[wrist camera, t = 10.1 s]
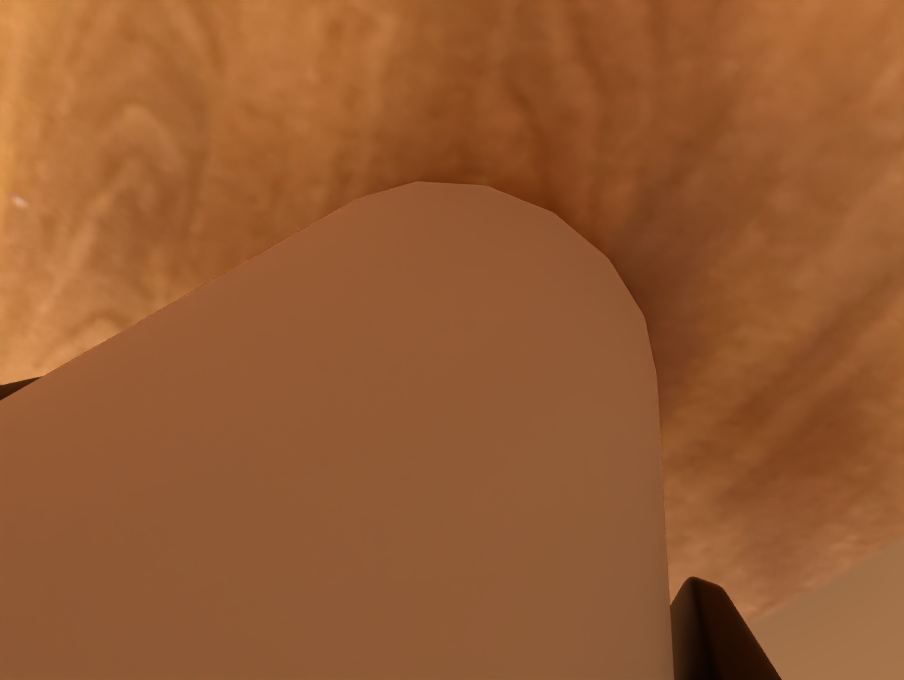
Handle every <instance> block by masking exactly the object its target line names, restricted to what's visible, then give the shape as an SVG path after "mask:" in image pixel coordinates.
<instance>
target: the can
mask: <svg viewBox="0 0 904 680" xmlns="http://www.w3.org/2000/svg"><path fill="white" fill-rule="evenodd" d="M0 680H674V670H673V652H672V634H671V616H670V598H669V580H668V563H667V545H666V527H665V509H664V491H663V473H662V456H661V438H660V420H659V402H658V384H657V375H656V370H655V365H654V360H653V356H652V351H651V346H650V341H649V336H648V332H647V327H646V322H645V317H644V315H643V313H642V312H641V310H640V309H639V307H638V305H637V304H636V302H635V300H634V299H633V297H632V296H631V294H630V292H629V291H628V289H627V287H626V286H625V284H624V283H623V281H622V279H621V278H620V276H619V274H618V273H617V271H616V270H615V268H614V266H613V265H612V263H611V262H610V260H609V258H608V257H606V256H605V255H604V254H603V253H602V252H600V251H599V250H598V249H597V248H596V247H594V246H593V245H592V244H591V243H590V242H588V241H587V240H586V239H585V238H584V237H582V236H581V235H580V234H579V233H578V232H576V231H575V230H574V229H573V228H572V227H570V226H569V225H568V224H567V223H566V222H564V221H563V220H562V219H561V218H560V217H558V216H557V215H556V214H555V213H554V212H551V211H549V210H546V209H544V208H541V207H539V206H536V205H534V204H531V203H529V202H526V201H524V200H521V199H519V198H516V197H514V196H511V195H509V194H506V193H504V192H501V191H499V190H496V189H494V188H491V187H489V186H486V185H471V184H455V183H439V182H423V181H416V182H413V183H409V184H406V185H402V186H399V187H395V188H392V189H388V190H385V191H381V192H378V193H374V194H371V195H367V196H364V197H360V198H357V199H355V200H353V201H351V202H350V203H348V204H346V205H344V206H343V207H341V208H339V209H337V210H336V211H334V212H332V213H330V214H328V215H327V216H325V217H323V218H321V219H320V220H318V221H316V222H314V223H313V224H311V225H309V226H307V227H306V228H304V229H302V230H300V231H298V232H297V233H295V234H293V235H291V236H290V237H288V238H286V239H284V240H283V241H281V242H279V243H277V244H276V245H274V246H272V247H270V248H269V249H267V250H265V251H263V252H261V253H260V254H258V255H256V256H254V257H253V258H251V259H249V260H247V261H246V262H244V263H242V264H240V265H239V266H237V267H235V268H233V269H231V270H230V271H228V272H226V273H224V274H223V275H221V276H219V277H217V278H216V279H214V280H212V281H210V282H209V283H207V284H205V285H203V286H202V287H200V288H198V289H196V290H194V291H193V292H191V293H189V294H187V295H186V296H184V297H182V298H180V299H179V300H177V301H175V302H173V303H172V304H170V305H168V306H166V307H164V308H163V309H161V310H159V311H157V312H156V313H154V314H152V315H150V316H149V317H147V318H145V319H143V320H142V321H140V322H138V323H136V324H135V325H133V326H131V327H129V328H127V329H126V330H124V331H122V332H120V333H119V334H117V335H115V336H113V337H112V338H110V339H108V340H106V341H105V342H103V343H101V344H99V345H97V346H96V347H94V348H92V349H90V350H89V351H87V352H85V353H83V354H82V355H80V356H78V357H76V358H75V359H73V360H71V361H69V362H68V363H66V364H64V365H62V366H60V367H59V368H57V369H55V370H53V371H52V372H50V373H48V374H46V375H45V376H43V377H41V378H39V379H38V380H36V381H34V382H32V383H30V384H29V385H27V386H25V387H23V388H22V389H20V390H18V391H16V392H15V393H13V394H11V395H9V396H8V397H6V398H4V399H2V400H1V401H0Z"/></svg>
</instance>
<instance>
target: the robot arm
mask: <svg viewBox="0 0 904 680" xmlns="http://www.w3.org/2000/svg"><path fill="white" fill-rule="evenodd" d="M41 377H43V376H41ZM41 377H37V378H32V379H28V380H23V381H18V382H14V383H9V384H5V385H0V401H1V400H2V399H4V398H6V397H8V396H9V395H11V394H13V393H15V392H16V391H18V390H20V389H22V388H23V387H25V386H27V385H29V384H30V383H32V382H34V381H36V380H38V379H39V378H41ZM670 616H671V634H672V652H673V670H674V680H781V678H780V676H779V675H778V673H777V672H776V670H775V668H774V667H773V665H772V664H771V662H770V661H769V659H768V657H767V656H766V654H765V653H764V652H763V650H762V648H761V646H760V645H759V643H758V642H757V640H756V639H755V637H754V636H753V634H752V632H751V631H750V629H749V628H748V626H747V624H746V623H745V621H744V620H743V618H742V617H741V615H740V613H739V612H738V610H737V609H736V607H735V606H734V604H733V602H732V601H731V599H730V598H729V596H728V595H727V593H726V592H725V590H724V589H723V588H722V587H720V586H719V585H717V584H714V583H711V582H708V581H705V580H703V579H700V578H697V577H689V578H688V579H687V580H686V581H685V582H684V583H683V585H682V587H681V588H680V590H679V592H678V593H677V595H676V597H675V599H674V600H673V602H672V604H671V606H670Z"/></svg>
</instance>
